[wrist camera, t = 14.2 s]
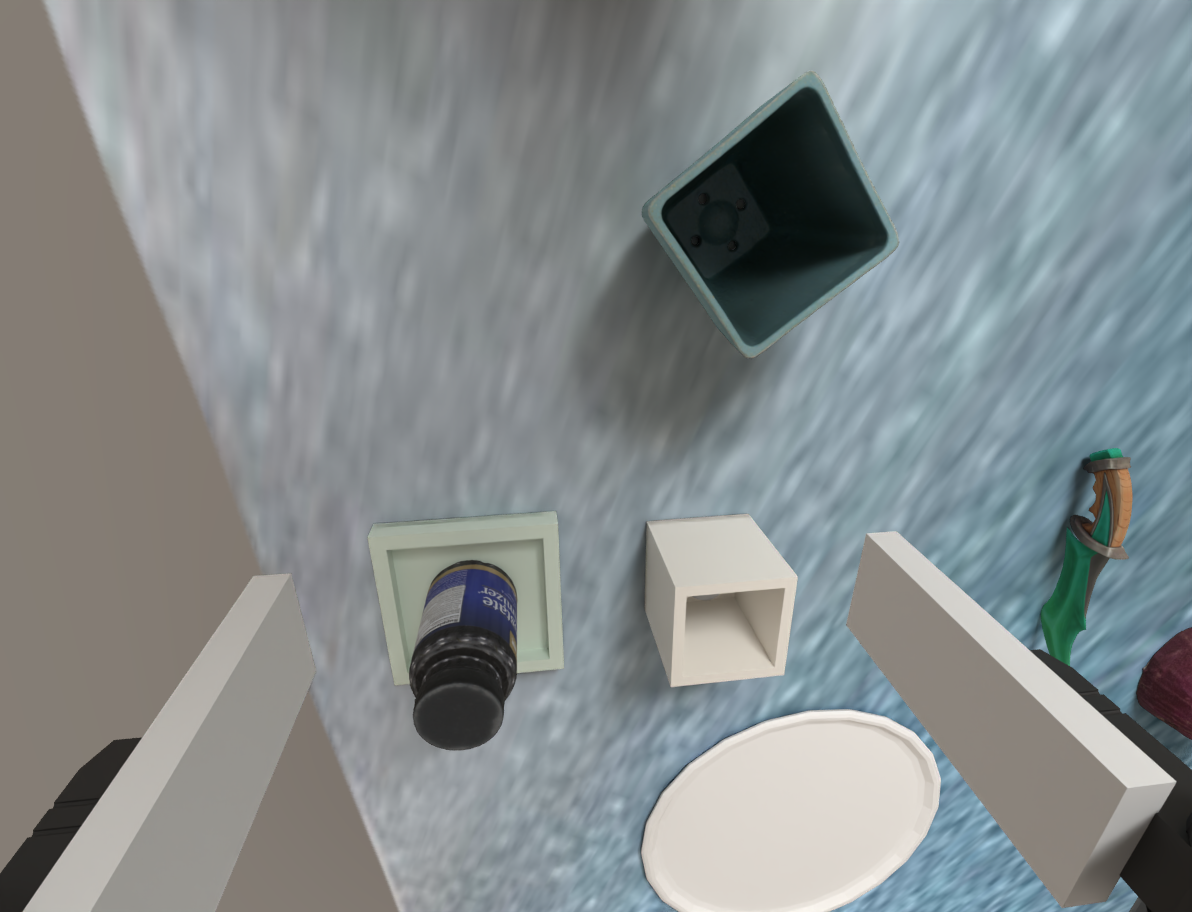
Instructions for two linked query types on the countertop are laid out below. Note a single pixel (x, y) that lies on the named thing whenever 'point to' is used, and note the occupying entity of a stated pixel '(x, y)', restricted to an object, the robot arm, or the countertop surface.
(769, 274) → the flower pot
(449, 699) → the pill bottle
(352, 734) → the countertop surface
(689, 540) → the open cream box
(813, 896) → the plate
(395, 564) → the tray
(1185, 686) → the vegetable
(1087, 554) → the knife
